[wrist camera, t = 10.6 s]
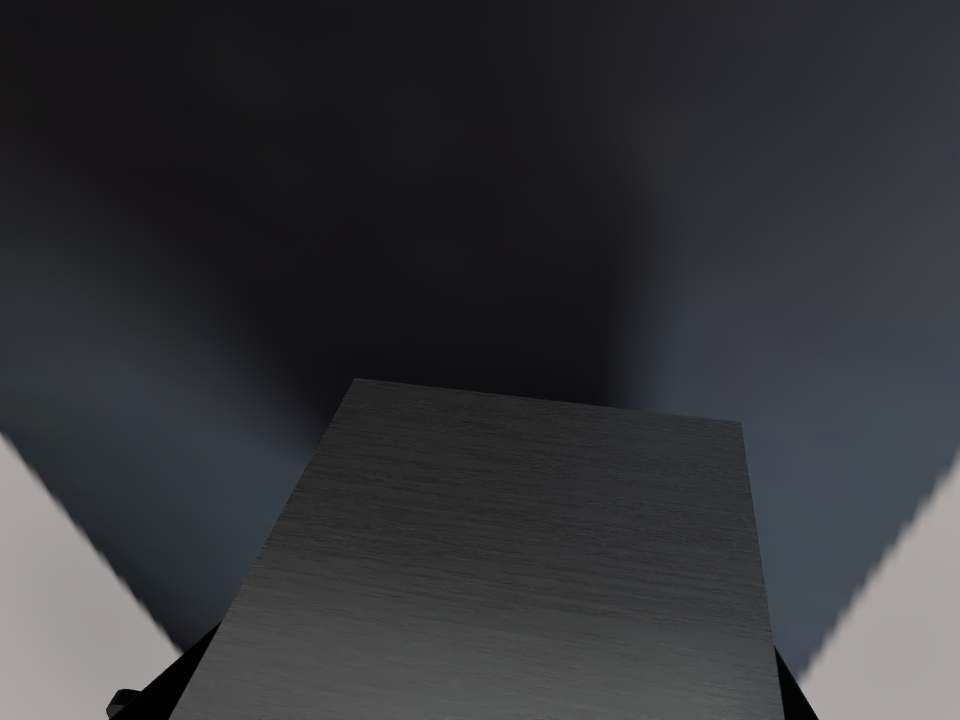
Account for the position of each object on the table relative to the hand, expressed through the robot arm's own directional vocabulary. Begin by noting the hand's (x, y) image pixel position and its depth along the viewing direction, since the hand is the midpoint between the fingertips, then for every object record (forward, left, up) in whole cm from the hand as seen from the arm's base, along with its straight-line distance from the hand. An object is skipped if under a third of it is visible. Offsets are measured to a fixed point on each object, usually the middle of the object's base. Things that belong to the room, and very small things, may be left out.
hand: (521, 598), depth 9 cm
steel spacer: (0, 0, -1) cm, 1 cm away
